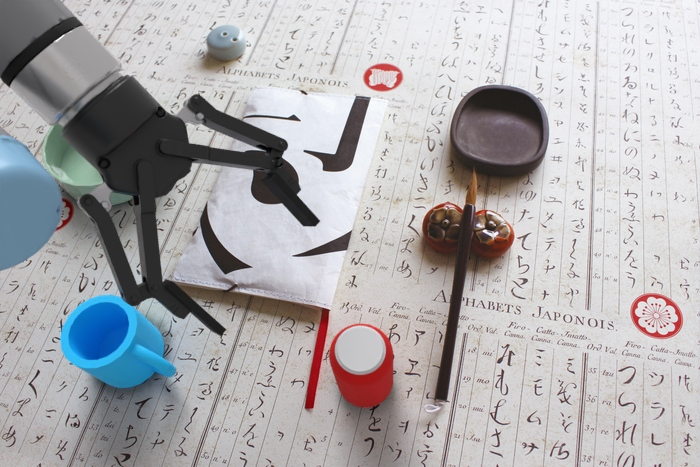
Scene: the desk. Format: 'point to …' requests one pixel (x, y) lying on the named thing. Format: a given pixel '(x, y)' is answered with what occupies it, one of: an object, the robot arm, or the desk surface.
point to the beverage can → (362, 364)
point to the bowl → (72, 167)
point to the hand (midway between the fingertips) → (267, 275)
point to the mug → (114, 342)
